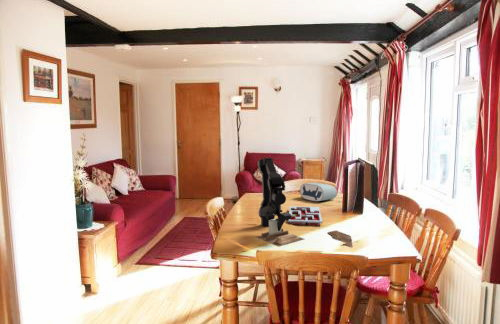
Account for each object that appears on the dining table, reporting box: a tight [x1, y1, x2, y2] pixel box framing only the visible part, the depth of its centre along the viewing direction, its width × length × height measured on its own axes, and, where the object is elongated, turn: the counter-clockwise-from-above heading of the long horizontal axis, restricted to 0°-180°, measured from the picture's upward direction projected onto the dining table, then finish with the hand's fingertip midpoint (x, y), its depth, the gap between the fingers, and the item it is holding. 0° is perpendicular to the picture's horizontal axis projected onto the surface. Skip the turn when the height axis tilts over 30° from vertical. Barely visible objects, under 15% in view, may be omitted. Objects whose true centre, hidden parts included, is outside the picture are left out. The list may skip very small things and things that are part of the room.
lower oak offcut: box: [275, 236, 300, 246], centre depth 180 cm, size 5×12×1 cm, turn 127°
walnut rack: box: [256, 228, 305, 248], centre depth 184 cm, size 18×18×3 cm
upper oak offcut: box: [277, 233, 297, 242], centre depth 180 cm, size 4×10×1 cm, turn 127°
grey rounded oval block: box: [299, 182, 338, 202], centre depth 278 cm, size 22×19×13 cm
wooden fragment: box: [327, 229, 353, 248], centre depth 186 cm, size 26×11×1 cm, turn 1°
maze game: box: [288, 205, 323, 226], centre depth 227 cm, size 35×20×3 cm, turn 173°
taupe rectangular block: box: [268, 217, 282, 235], centre depth 187 cm, size 2×7×9 cm, turn 127°
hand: (275, 229), depth 187 cm, fingers open, 6 cm apart
